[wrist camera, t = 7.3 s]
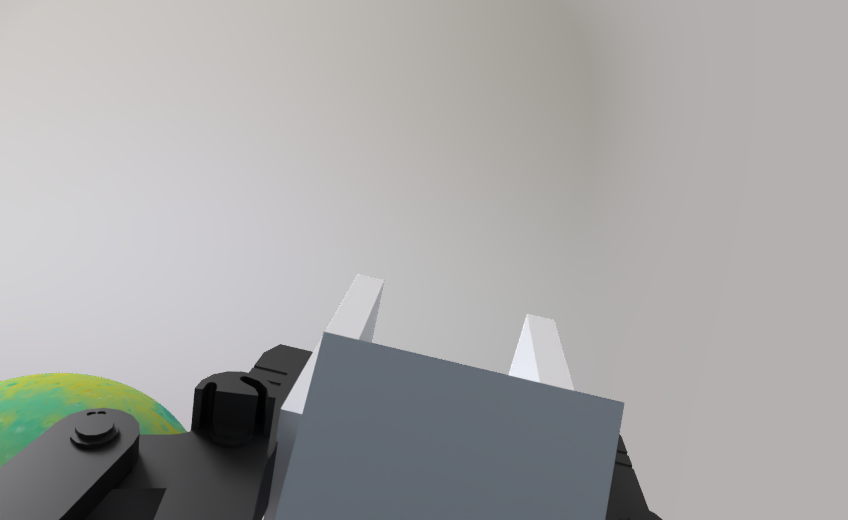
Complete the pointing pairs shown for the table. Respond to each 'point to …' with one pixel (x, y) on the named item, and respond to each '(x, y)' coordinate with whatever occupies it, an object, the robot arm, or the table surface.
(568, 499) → the pale blue bar
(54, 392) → the globe
